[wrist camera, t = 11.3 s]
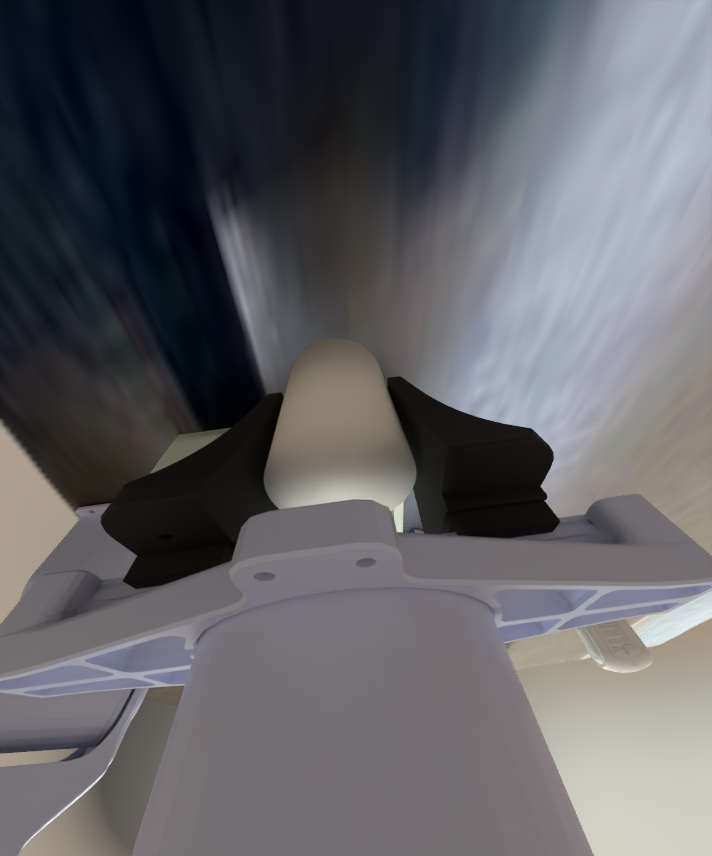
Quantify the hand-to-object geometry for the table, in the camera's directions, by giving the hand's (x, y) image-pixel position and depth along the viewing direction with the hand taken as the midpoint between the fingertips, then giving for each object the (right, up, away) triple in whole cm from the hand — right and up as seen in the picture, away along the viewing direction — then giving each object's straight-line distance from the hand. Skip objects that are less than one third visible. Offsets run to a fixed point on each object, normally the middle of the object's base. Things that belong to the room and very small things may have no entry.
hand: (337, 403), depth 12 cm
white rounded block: (+52, -39, +45) cm, 79 cm away
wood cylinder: (0, +1, +2) cm, 2 cm away
